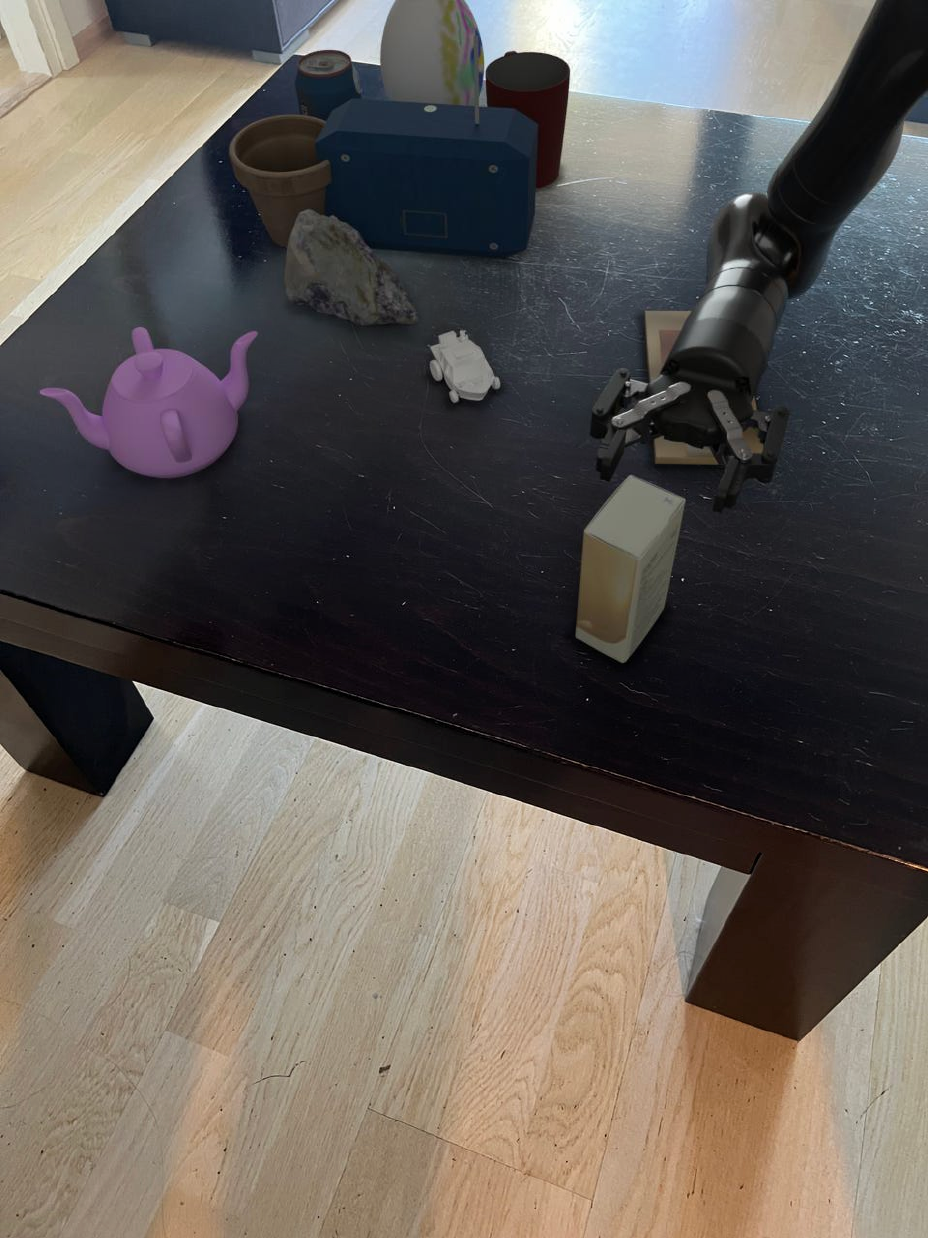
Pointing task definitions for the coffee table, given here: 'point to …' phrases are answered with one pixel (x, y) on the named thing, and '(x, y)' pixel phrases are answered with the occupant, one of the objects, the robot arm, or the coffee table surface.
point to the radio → (432, 175)
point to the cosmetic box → (627, 566)
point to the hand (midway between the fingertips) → (661, 488)
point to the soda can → (325, 82)
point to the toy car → (462, 367)
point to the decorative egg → (430, 52)
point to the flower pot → (281, 170)
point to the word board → (659, 343)
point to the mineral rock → (342, 274)
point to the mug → (534, 101)
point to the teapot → (164, 409)
